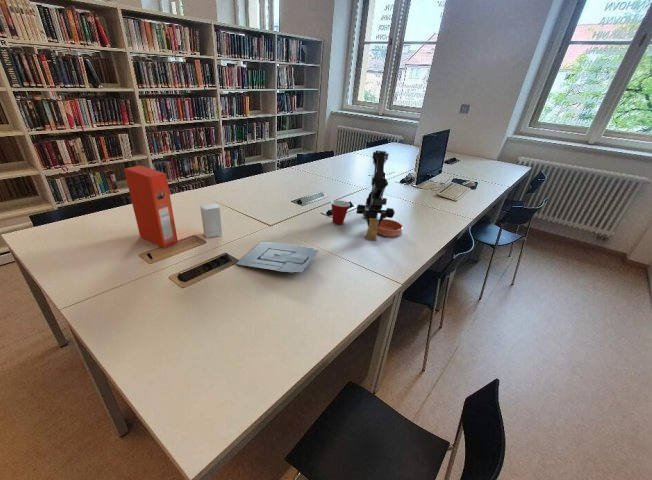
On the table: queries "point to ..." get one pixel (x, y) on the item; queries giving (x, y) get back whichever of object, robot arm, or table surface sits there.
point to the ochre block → (372, 229)
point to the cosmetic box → (211, 220)
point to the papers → (279, 257)
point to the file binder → (152, 205)
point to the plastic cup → (339, 211)
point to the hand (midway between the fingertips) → (373, 226)
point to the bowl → (389, 228)
